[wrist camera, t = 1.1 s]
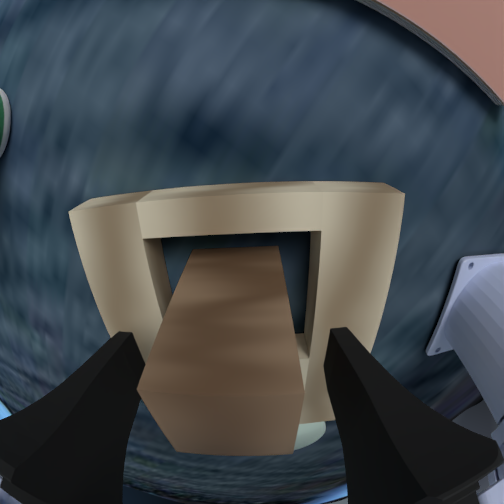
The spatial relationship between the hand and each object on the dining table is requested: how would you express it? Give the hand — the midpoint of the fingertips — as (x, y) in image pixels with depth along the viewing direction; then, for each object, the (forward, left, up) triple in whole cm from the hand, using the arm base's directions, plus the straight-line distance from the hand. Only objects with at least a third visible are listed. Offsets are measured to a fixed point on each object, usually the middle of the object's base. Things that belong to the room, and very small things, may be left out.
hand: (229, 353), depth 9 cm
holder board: (0, +3, -5) cm, 6 cm away
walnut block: (0, 0, -5) cm, 5 cm away
